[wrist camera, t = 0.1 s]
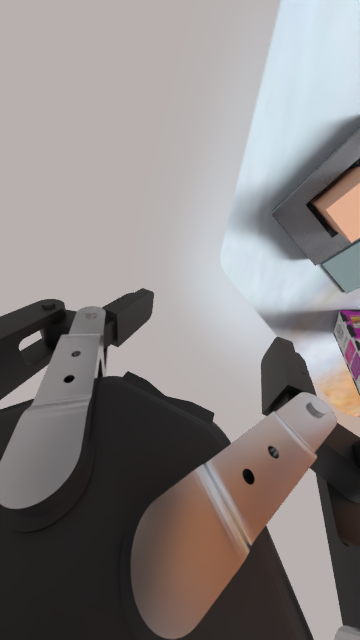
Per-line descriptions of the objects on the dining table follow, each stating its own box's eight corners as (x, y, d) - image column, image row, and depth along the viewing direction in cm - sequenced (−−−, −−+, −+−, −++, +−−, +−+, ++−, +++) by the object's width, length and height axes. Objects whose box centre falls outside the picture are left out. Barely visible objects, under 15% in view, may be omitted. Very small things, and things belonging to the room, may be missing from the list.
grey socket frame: (379, 108, 16) (395, 96, 14) (427, 182, 18) (449, 182, 15) (271, 211, 24) (271, 214, 22) (311, 258, 25) (315, 265, 23)
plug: (348, 168, 19) (387, 160, 13) (369, 196, 20) (416, 202, 13) (310, 201, 22) (325, 209, 15) (328, 225, 22) (351, 242, 16)
